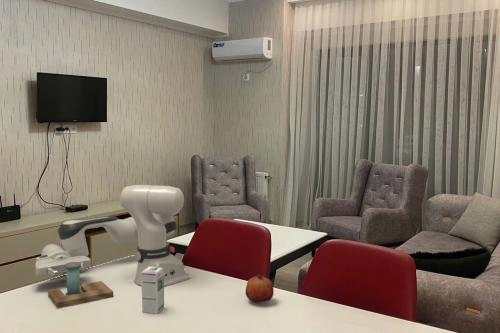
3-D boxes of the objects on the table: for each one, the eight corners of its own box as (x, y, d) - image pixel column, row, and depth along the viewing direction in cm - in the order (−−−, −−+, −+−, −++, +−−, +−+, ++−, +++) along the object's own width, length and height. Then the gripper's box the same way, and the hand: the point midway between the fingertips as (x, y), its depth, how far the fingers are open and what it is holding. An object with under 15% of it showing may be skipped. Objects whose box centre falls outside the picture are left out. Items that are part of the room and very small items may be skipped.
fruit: (279, 302, 170) (280, 275, 169) (261, 310, 162) (261, 281, 161) (257, 294, 177) (258, 268, 176) (239, 301, 169) (239, 274, 169)
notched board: (101, 285, 183) (101, 280, 183) (113, 296, 172) (113, 291, 172) (48, 296, 172) (47, 290, 172) (57, 308, 161) (57, 302, 161)
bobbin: (79, 292, 176) (78, 261, 175) (83, 296, 172) (82, 264, 171) (63, 295, 173) (63, 263, 172) (67, 299, 169) (66, 267, 168)
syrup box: (157, 314, 157) (157, 272, 156) (141, 312, 159) (141, 270, 157) (164, 307, 163) (164, 267, 162) (148, 306, 164) (148, 265, 163)
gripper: (85, 264, 194) (96, 274, 182) (32, 274, 182) (40, 284, 171) (85, 250, 193) (96, 258, 182) (31, 258, 181) (39, 267, 170)
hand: (68, 271), depth 176 cm, fingers open, 8 cm apart
